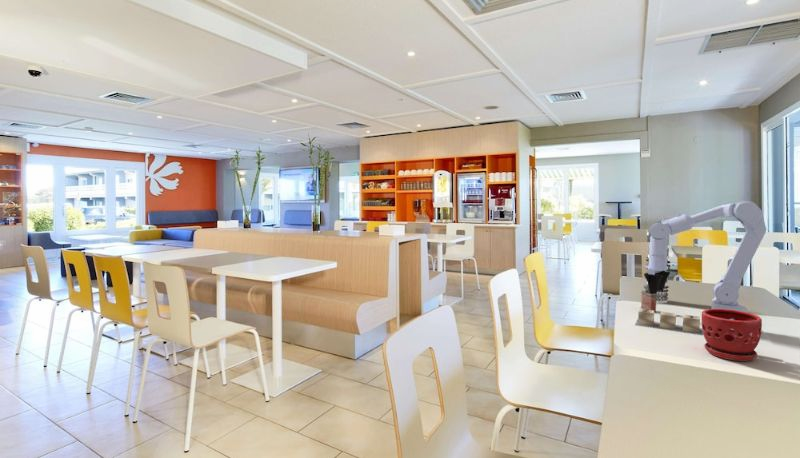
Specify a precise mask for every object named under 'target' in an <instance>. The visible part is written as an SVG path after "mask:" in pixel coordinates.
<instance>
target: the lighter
mask: <svg viewBox="0 0 800 458" xmlns="http://www.w3.org/2000/svg"><path fill="white" fill-rule="evenodd" d="M643 289H644V290H641V306H640V309H641V308H642V309H645V310H652V311H654V314H656V313H657V303H656V297H657V294H654V293H650V291H649V287H648V286H646V284H644V285H643Z"/></svg>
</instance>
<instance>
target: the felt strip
mask: <svg viewBox="0 0 800 458" xmlns="http://www.w3.org/2000/svg"><path fill="white" fill-rule="evenodd" d="M634 326H638V327H644V328H651V329H657V330H664V331H671V332H676V333H685V334H689V335H690V334H691V335H697V336H703V330H702V327H700V330H699V333H695V332H689V331H683V325H679V324H676V330H675V329H668V328H662V327H660V321H659V322H658V321H654V324H653V326H648V325H641V324H638V318H637V319H636V320H635V323H634Z"/></svg>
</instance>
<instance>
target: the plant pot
mask: <svg viewBox="0 0 800 458" xmlns="http://www.w3.org/2000/svg"><path fill="white" fill-rule="evenodd" d="M729 319H734V320H729ZM762 326H763V320H762V317H760V315H759V316H758V315H757V314H754V313H750V312H748V313H747V312H742V311H736V310H728V309H711V308H708V309H704V310H702V311H701V330H702V335H703V337H704V339H705V341H706V343H704V344H703V345H704V349H705V350H706V352H708V353H709V354H711V355H712V356H715V357H718V358H720V359H724V360H725V359H726V360H730V361H738V362H747V361H748V362H749V361H753V360H754V359H756V358H757V356H758V352H757V351H755V349H756V348H757V346H758V345H759V343H760V340H761V336H762ZM731 329H733V330H731Z"/></svg>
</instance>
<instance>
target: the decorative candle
mask: <svg viewBox="0 0 800 458" xmlns="http://www.w3.org/2000/svg"><path fill="white" fill-rule="evenodd" d="M669 250H670V248H669V247H668V249H667V270H666V272H671V271H670V269H669V267H671V261H670V260H669V259H670V253H669ZM645 261H646V262H647V263H645V264H646V265H645V266H649V253H648V254H647V256H646V259H645ZM645 269H646V270H647V271H646V272H645V273H648V268H645ZM668 279H669V277H668V278H667V280H666V283H665V287H664V290H663V291H660V290H658V291H657V297H656V304H657V303H660V304H665V303H666V304H667V303H668V299H669V297H668V296H669V294H668V292H669V283H668ZM645 285H646V286H648V282H647V281H646V284H645Z"/></svg>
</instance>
